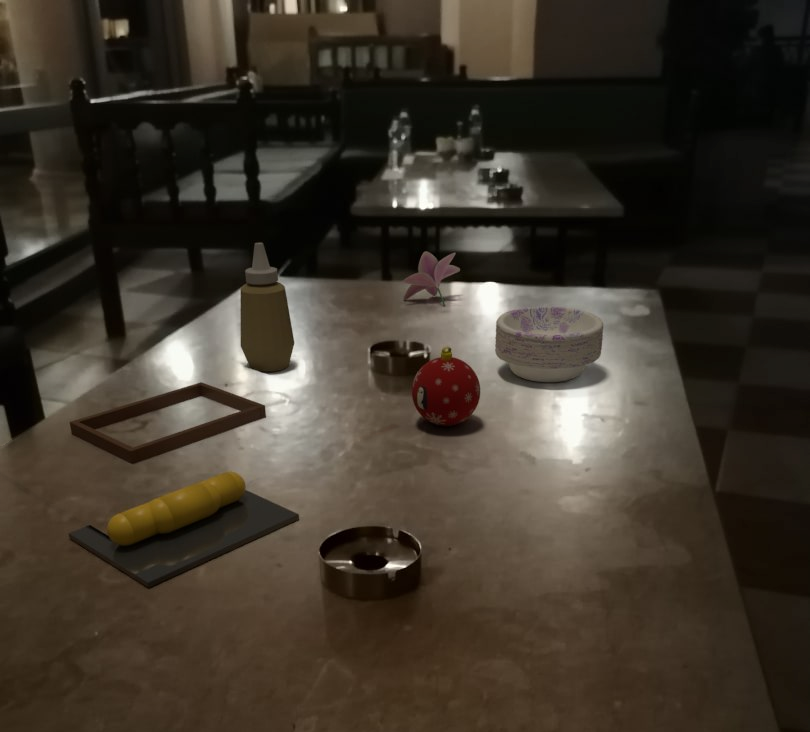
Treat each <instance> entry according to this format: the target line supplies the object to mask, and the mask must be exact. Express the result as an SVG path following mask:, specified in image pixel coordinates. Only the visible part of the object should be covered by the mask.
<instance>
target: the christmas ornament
mask: <svg viewBox="0 0 810 732" xmlns="http://www.w3.org/2000/svg"><path fill="white" fill-rule="evenodd" d="M411 398H412V402H413V405H414V407H415V409H416V411H417V412H418V414H419V415H420V416H421V417H422V418H423V419H424V420H426V421H427V422H429V423H431V424H433V425H436V426H441V427H451V426H455V425H458V424H461V423H463V422H465V421H466V420H467V419H469V418H470V417H471V416H472V415H473V413H474V412H475V410H476V409H477V407H478V406H479V402H480V399H481V384H480V380H479V378H478V375H477V373H476V372H475V370H474V369H473V368H472V367H471V366H470V365H469V364H468V363H467V362H465V361H464V360H462V359H460V358H457V357H453V352H452V348H451V347H450V346H445V347H442V348H441V352H440V356H439V357H436V358H432V359H431V360H429V361H427V362H426V363H425V364H423V365H422V366H421V367H420V368H419V370H418V371H417V372H416V374H415V376H414V379H413V380H412V385H411Z"/></svg>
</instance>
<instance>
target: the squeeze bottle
mask: <svg viewBox="0 0 810 732" xmlns="http://www.w3.org/2000/svg"><path fill="white" fill-rule="evenodd" d="M251 265H252V266H251V267H248V268H246V269H245V270H244V275H245V281H246V282H245V283H244V284H243V285H242V286H241V287H240V348H241V350H242V353H243V355H244V357H245V360H246V361H247V364H248V366H249V368H250V369H251V370H253V371H257V372H276V371H282V370H284V369H286V368H288V367H289V366H290V363H291V358H292V355H293V352H294V351H293V350H294V346H295V338H294V332H293V326H292V320H291V315H290V309H289V303H288V297H287V291H286V287H285V285H284V284H283V283H282V282H279V273H278V268H277V267H274V266H270V265H271V264H270V263H269V259H268V256H267V252H266V248H265V245H264V243H263V242H255V243H254V247H253V256H252V263H251Z"/></svg>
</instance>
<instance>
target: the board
mask: <svg viewBox="0 0 810 732" xmlns="http://www.w3.org/2000/svg"><path fill="white" fill-rule="evenodd" d="M298 520H300V514H299V513H297V512H295V511H292V510H291V509H288V508H287V507H284V506H282V505H280V504H278V503H275V502H273V501H271V500H269V499H266V498H264V497H262V496H261V495H258V494H256V493H253V492H252V491H249V490H247V489H246V490H245V493H244V495H243V496H242V498H240V499H239V500H237V501H235V502H233V503H231V504H228V505H226V506H223V507H221V508H219V509H218V510H217V512H215V513H214V514H213V515H211V516H209V517H206V518H204V519H202V520H199V521H197V522H194V523H192V524H190V525H187V526H185V527H182V528H180V529H178V530H175V531H173V532H171V533H167V534H156V535H154V536H151V537H149V538H147V539H144V540H142V541H139V542H137V543H134V544H132V545H129V546H120V545H117V544H116V543H114V542H113V541H112V540H111V539H110V538H109V536H108V534H106V533H105V532H103V531H101V530H99V529H98V528H96V527H95V526H93V525H91V524H88V525H87V526H84V527H81V528H79V529H75V530H73V531H71V532H69V533H68V538H69V539H70V540H72V541H73V542H75V543H76V544H77V545H79V546H81V547H83V548H84V549H86V550H87V551H89V552H90V553H92V554H94V555H95V556H96V557H98V558H99V559H101V560H103V561H105V562H107V564H109V565H111V566H113V567H114V568H116V569H118V570H119V571H121V572H122V573H124V574H125V575H127V576H129V577H130V578H132V579H133V580H135V581H137V582H138V583H140V584H141V585H142V586H145V587H146V588H148V589H149V588H153V587H154V586H156V585H158V584H160V583H163V582H165V581H167V580H170V579H172V578H174V577H176V576H178V575H180V574H182V573H185V572H187V571H189V570H191V569H193V568H196V567H198V566H200V565H202V564H205V563H207V562H208V561H211V560H213V559H215V558H217V557H220V556H222V555H224V554H226V553H229V552H231V551H233V550H235V549H237V548H239V547H242V546H244V545H246V544H248V543H250V542H252V541H254V540H256V539H259V538H261V537H263V536H265V535H268V534H270V533H271V532H272V533H273V532H274V531H277V530H278V529H281V528H283V527H286V526H287V525H290V524H292V523H294V522H296V521H298Z"/></svg>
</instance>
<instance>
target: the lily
mask: <svg viewBox="0 0 810 732" xmlns="http://www.w3.org/2000/svg"><path fill="white" fill-rule="evenodd" d="M455 256H456V252H452V253H450V254H447V256H444V257H443V258H442V259H440V260H438V259H437V257H436V256H434V254H432V253H431V252H430V251H427V250H426V251H425V250H424V252H422V255H421V256H420V259H419V261H418V267H417V271H418V272H416V273H413V274H411V275H408V276H407V277H406V278H405V277H404V279H403V280H402V283H405V284H409V287H408V288H407V290H406V291H405V294H404V295H403V301H406V300H408V299H409V298H411V297H413V296H414V295H416V294H417V293H420V292H422V291H423V290H425V291H426V292H427V293H428V294H429V295H431V296H433V297H436V296H437V294H439V297H440V300H441V303H442V305H443V307H446V304H445V301H444V298H443V296H442V293H441V290H440V285H441V281H442V280H444V279H446V278H448V277H450V276H452V275H454V274H457V273H459V272H460V271H461V268H460V267H458V266H456V265H453V264H451V262H452V260H453V259H454V257H455Z"/></svg>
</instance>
